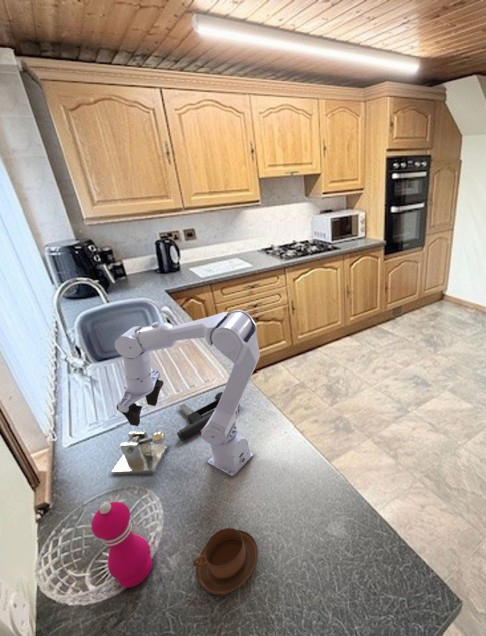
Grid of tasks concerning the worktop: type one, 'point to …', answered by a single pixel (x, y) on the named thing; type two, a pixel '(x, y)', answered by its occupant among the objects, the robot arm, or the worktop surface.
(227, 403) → the robot arm
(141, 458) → the bracket
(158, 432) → the lever
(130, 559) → the pepper mill
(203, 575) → the cup and saucer
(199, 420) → the door handle
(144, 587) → the worktop surface
